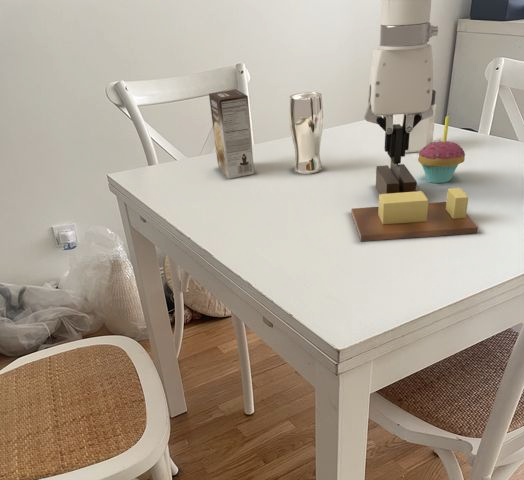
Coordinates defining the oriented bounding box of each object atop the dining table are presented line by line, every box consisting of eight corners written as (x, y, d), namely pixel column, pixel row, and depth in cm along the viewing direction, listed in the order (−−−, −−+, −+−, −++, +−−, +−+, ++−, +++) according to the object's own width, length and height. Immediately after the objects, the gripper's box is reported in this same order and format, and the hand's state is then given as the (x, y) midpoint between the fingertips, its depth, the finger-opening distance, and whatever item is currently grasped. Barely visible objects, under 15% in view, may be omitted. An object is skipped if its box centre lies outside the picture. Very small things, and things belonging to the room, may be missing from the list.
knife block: (402, 184, 105) (403, 163, 103) (415, 204, 96) (416, 181, 94) (375, 186, 105) (376, 166, 103) (385, 206, 96) (386, 184, 94)
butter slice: (457, 208, 90) (460, 187, 88) (465, 218, 86) (468, 196, 84) (445, 209, 90) (447, 188, 88) (453, 219, 86) (455, 197, 84)
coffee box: (217, 168, 124) (207, 92, 115) (243, 164, 125) (236, 88, 116) (228, 179, 117) (218, 99, 108) (255, 174, 118) (249, 94, 109)
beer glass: (322, 174, 114) (321, 97, 106) (290, 175, 116) (286, 99, 107) (325, 164, 120) (324, 91, 111) (294, 165, 121) (290, 93, 113)
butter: (420, 211, 90) (421, 190, 88) (426, 221, 86) (428, 200, 84) (378, 214, 91) (379, 194, 89) (382, 224, 87) (383, 203, 85)
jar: (428, 142, 128) (433, 87, 122) (435, 151, 122) (441, 93, 115) (390, 144, 129) (393, 90, 122) (395, 153, 123) (399, 96, 116)
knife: (393, 178, 102) (397, 121, 96) (401, 190, 96) (405, 130, 91) (387, 178, 102) (390, 121, 96) (394, 190, 97) (398, 131, 91)
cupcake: (422, 171, 111) (427, 108, 104) (465, 174, 107) (474, 109, 100) (412, 184, 104) (417, 119, 98) (457, 188, 101) (466, 120, 94)
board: (455, 206, 93) (456, 200, 93) (477, 233, 84) (478, 227, 83) (351, 213, 94) (351, 208, 94) (360, 241, 85) (360, 235, 84)
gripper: (446, 31, 89) (434, 146, 99) (352, 38, 89) (349, 152, 100) (459, 35, 83) (445, 157, 93) (358, 43, 83) (355, 164, 94)
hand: (395, 154), depth 96 cm, fingers closed on knife, 1 cm apart
